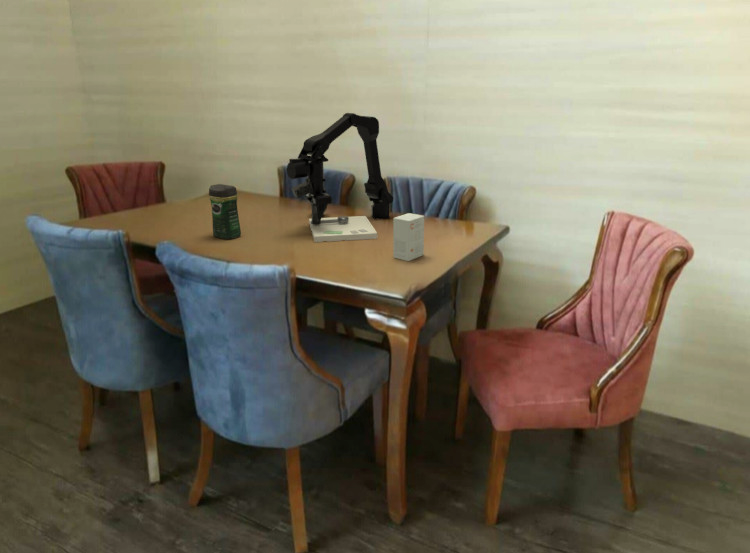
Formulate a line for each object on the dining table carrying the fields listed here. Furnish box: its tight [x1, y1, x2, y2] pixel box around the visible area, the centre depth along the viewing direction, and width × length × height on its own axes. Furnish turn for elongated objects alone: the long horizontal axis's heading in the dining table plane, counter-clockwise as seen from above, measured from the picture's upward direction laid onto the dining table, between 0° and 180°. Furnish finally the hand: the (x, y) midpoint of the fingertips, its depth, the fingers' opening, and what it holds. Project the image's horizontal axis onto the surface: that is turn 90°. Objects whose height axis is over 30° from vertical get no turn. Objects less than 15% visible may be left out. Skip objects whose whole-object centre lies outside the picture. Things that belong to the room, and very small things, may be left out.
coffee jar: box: [208, 183, 242, 240], centre depth 201 cm, size 10×8×19 cm
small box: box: [392, 212, 425, 262], centre depth 179 cm, size 8×6×13 cm
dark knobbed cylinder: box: [310, 199, 350, 225], centre depth 210 cm, size 14×4×9 cm, turn 104°
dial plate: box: [308, 215, 378, 243], centre depth 210 cm, size 22×25×2 cm
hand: (317, 217), depth 209 cm, fingers open, 5 cm apart
